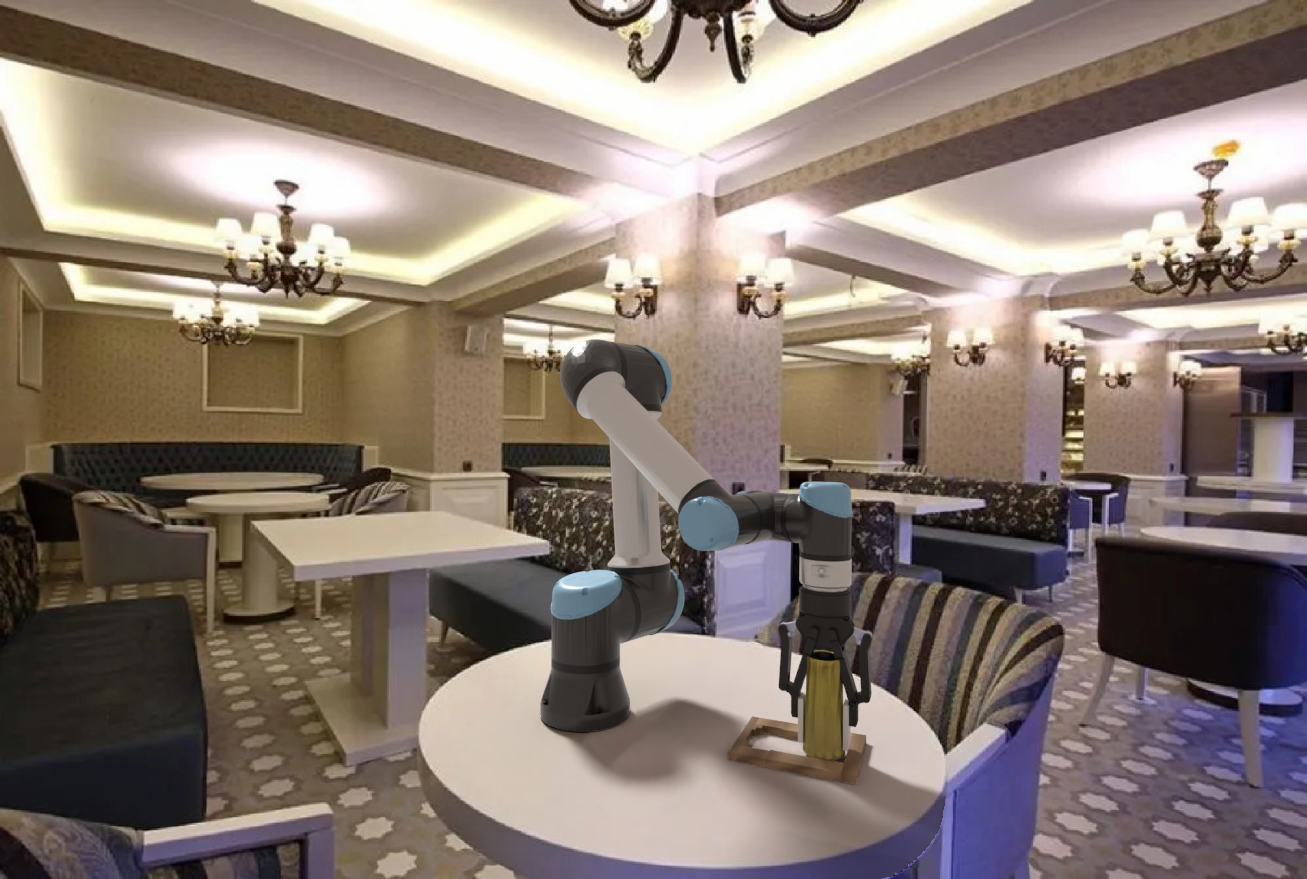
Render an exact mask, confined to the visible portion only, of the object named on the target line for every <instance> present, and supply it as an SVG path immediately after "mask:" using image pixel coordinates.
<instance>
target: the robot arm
mask: <svg viewBox="0 0 1307 879" xmlns="http://www.w3.org/2000/svg"><path fill="white" fill-rule="evenodd" d="M559 369H560V371H559V381H560V387H561V389H562V392H563V394H564V396H565V398H566V399H567V400H568V402H569V403H570V405H571V406H572V407H573V408H574V410H576V412H577V413H578V414H579V415H580V416H581V417H582V418H585V419H587V420H593V422H594V423H596V425H597V426H598V427H599V428H600V429H601V431H603V433H604V434H606V437H608V438H609V457H610V458H609V459H610V477H611V478H610V479H611V492H612V493H611V496H612V514H613V531H614V533H613V534H614V555H613V557H612V558H611V559H610V560H609V561H608V563H607V569H592V570H589V571H585V570H583V571H578V572H574V573H571V574H568V575H566V576H564V577H562V578H560V579H559V580H558V581H557V582H555V584H554V585H553V588H552V595H551V598H552V599H551V604H550V612H551V622H550V623H551V648H550V649H551V650H550V652H551V655H550V656H551V663H550V665H551V669H550V672H549V675H548V679H547V682H546V684H545V687H544V690H543V694H542V696H541V699H540V700H541V701H540V706H539V707H540V708H539V710H540V711H539V712H540V714H539V715H541V717H540V719H541V718H542V719H541V721H542V720H543V721H544V722H545V723H546V724H545V723H544V722H543V721H542V722H543V723H544V724H545V725H547V724H548V725H547V726H549V725H550V726H549V727H551V726H552V727H551V728H553V727H554V728H553V729H557V730H560V729H561V730H560V731H567V732H574V733H575V732H577V733H581V732H584V733H585V732H596V731H597V732H598V731H603V730H608V729H610V728H614V727H616V726H619V725H620V724H623V723H624V722H625V721H626V720H628V718H629V717H630V714H631V700H630V695H629V693H628V690H627V686H626V683H625V680H624V676H623V673H622V670H621V644H624V643H627V642H630V641H634V640H638V639H640V638H644V637H647V636H653V635H656V634H660V633H661V632H663V631H665V630H667V629H669V628H671V627H672V626H673V625H674V624H675V623H676V622H677V621H678V620H679V618H680V617H681V615H682V612H683V610H684V606H685V590H684V589H685V588H684V585H683V583H682V580H681V579H679V578H678V577H679V576H678V574H677V572H675V571H674V570H672V569H671V561H670V558H669V557H667V556H666V554H664V553H663V551H662V540H661V538H662V537H661V522H660V521H661V520H660V505H659V494H660V496H661V497H662V498H663V499H664V500H665V501H666V502H667V503H668V505H670V507H672V509H673V510H674V511H675V512H676V513H677V514H678V519H677V520H678V524H677V525H678V529H679V530H680V534H681V538H682V540H683V541H684V543H685V544H686V545H687V546H689V547H690V548H692V549H693V550H696V551H700V552H707V551H710V552H711V551H724V550H725V549H728V548H732V547H737V546H743V545H749V544H750V545H751V544H755V543H759V542H760V543H761V542H765V541H767V542H768V541H773V542H784V543H785V542H786V543H793V544H798V545H799V546H798V547H799V548H798V549H799V568H798V569H799V571H798V573H799V575H798V579H799V581H798V582H800V584H802V585H800V587H799V588H798V589H799V590H798V595H799V596H798V600H799V601H798V616H797V617H796V620H794V621H789V622H788V621H786V620H784V621H782V622H781V623H780V624H779V626H778V627H777V630H778V634H779V638H780V641H781V644H780V658H779V659H780V660H779V673H778V688H779V690H780V691H784V692H786V693H788V694H789V695H790V714H791V717H792V718H796V719H797V724H798V740H797V743H799V744H800V743H801V744H803V742H804V721H805V703H806V692H803V691H802V689H803V686H804V683H805V679H806V670H807V656H809V657H811V658H812V655H813V652H814V651H817V650H822V651H829V652H833V653H834V657H835V659H836V660H840V675H841V678H842V682H843V689H844V692H845V695H846V698H845V699H844V701H843V750H844V751H845V752H847V751H848V750H849V747H850V737H851V733H852V732H851V727H853V728H857V725H858V722H859V705H860V704H864V703H865V704H868V703H870V701H871V698H872V681H871V680H872V677H871V674H872V673H871V657H870V656H871V655H870V653H871V652H870V646H871V641H872V639H873V636H874V634H873V632H872V631H871V630H870V629H868V630H865V629H861V628H859V627H857V626H855V623H854V621H853V618H852V590H851V589H850V588H849V587H850V586H851V585H852V575H853V574H852V573H853V572H852V569H853V567H852V564H853V558H852V537H853V536H852V533H853V532H852V531H853V530H852V529H853V516H854V511H853V504H852V490H851V488H850V486H849V485H848V484H846V483H844V482H838V481H837V482H836V481H805V482H802V483H801V484H800V486H799V491H798V493H784V492H783V493H782V492H773V491H762V490H741V491H738V492H736V493H735V494H730V493H729V492H728V491H727V490H726V489H725V488H724V487H722V485H721V484H719V482H718V481H716V479H714V477H712V476H711V474H710V473H708V471H707V470H706V469H704V467H703V466H702V465H701V464H700V463H699V462H698V461H697V460H696V459H695V458H694V457H693V456H692V455H691V454H690V453H689V452H688V451H687V450H686V449H685V448H684V446H682V445H681V444H680V443H679V442H678V441H677V439H675V437H673V435H671V433H669V431H667V430H666V428H665V427H664V426H663V425H662V424H661V423H660V422H659V421H658V419H659V418H660V417H661V416H662V414H663V412H662V406H663V405H664V403H665V402H667V400H668V398H669V397H668V396H669V395H670V394H671V392H672V387H673V376H672V375H673V374H672V371H671V368H670V365H669V363H668V361H667V360H666V359H665V357H664V356H663V355H661V354H660V353H659V352H658V351H657V350H654V349H651V348H648V347H646V346H644V345H641V344H630V343H629V344H628V343H622V342H621V343H620V342H616V341H615V342H614V341H610V340H609V341H608V340H606V339H598V338H596V339H595V338H594V339H593V338H592V339H588V340H584V341H580V342H579V343H578V344H576V345H574V346H572V347H571V348H570V349H569V351H567V353H566V354H565V356H564V358H563V360H562V362H561V365H560V368H559ZM796 630H798V632H799V633H800V635H801V637H802V638H803V639H804V641H805V645H804V649H803V651H802V655H801V659H800V661H799V665H798V668H797V671H796V672H795V674H796V675H795V677H794V681H791V669H792V668H791V667H792V654H793V637H794V636H795V635H796ZM851 636H853V637H855V643H856V645H858V646H859V649H858V658H859V659H858V661H859V662H858V663H859V680H860V691H858V688H857V686H856V682H855V679H854V675H853V672H852V668H851V664H850V662H849V658H848V655H847V649H846V646H845V644H846V643H847V641H849V639H850V638H851Z"/></svg>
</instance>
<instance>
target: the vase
mask: <svg viewBox="0 0 1307 879" xmlns="http://www.w3.org/2000/svg"><path fill="white" fill-rule="evenodd" d="M805 679H806V683H805V693H806V703H805V721H804V742H803V743H802V751H803V753H804V754H805V755H806V756H807V757H813V758H818V759H824V760H829V761H834V762H836V761H838V760H842V759H843V758H844V757H845V756H846V751H844V750H843V704H844V685H843V682H842V678H841V675H840V660H836V659H835V657H834V653H833V652H829V651H826V650H814V652H813V655H812V658H811V657H809V656H807V670H806V677H805Z"/></svg>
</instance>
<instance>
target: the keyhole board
mask: <svg viewBox="0 0 1307 879" xmlns="http://www.w3.org/2000/svg"><path fill="white" fill-rule="evenodd" d="M763 734H768V735H773V736H779V737H781V738H785V739H791V740H797V741H798V723H795V722H787V721H782V720H781V721H780V720H775V719H770V718H763V717H757V716H751V717H750V718H749V721H748V722H747V724H746V725H745V726H744V728H743V729H742V731H741V733H739V735H738V736H737V738H736V739H735V741H734V743H733V744H732V745H731V747H730V748H729V750H728V751H727V760H728V761H732V762H737V763H743V764H747V765H751V766H752V765H753V766H755V767H756V766H758V767H763V768H766V769H767V768H768V769H772V770H777V771H783V772H787V773H788V772H789V773H792V774H793V773H794V774H799V775H804V776H809V777H814V778H819V779H820V778H821V779H824V780H828V781H829V780H830V781H835V782H840V783H845V784H851V785H855V786H857V784H858V780H859V779H858V778H859V776H860V771H861V767H862V766H861V765H862V762H863V758H864V754H865V748H866V745H867V735H866V734H860V733H854V732H851V737H850V747H849V750H848V751H846V754H845V759H844V761H843V762H839V761H829V760H824V759H818V758H813V757H810V756H808V755H806V756H805V755H802V754H801V755H800V754H794V753H791V752H784V751H778V750H773V749H770V750H767V749H762V748H757V747H753V745H752V743H750V741H751V739H752V738H756V737H757V736H762V735H763Z"/></svg>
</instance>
